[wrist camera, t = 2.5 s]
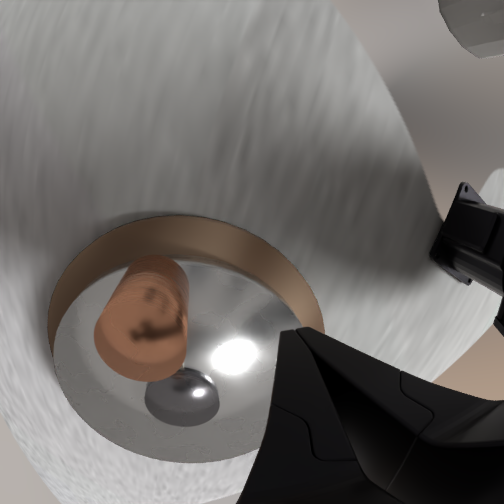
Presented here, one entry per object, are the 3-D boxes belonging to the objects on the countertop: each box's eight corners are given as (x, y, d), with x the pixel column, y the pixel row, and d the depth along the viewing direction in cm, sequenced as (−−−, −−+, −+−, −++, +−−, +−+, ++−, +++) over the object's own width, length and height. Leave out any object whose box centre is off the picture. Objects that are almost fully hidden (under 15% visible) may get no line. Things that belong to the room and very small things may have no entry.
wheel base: (366, 285, 19) (376, 292, 17) (248, 453, 22) (250, 463, 21) (92, 164, 14) (84, 165, 13) (46, 393, 17) (41, 402, 16)
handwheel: (300, 425, 20) (327, 492, 14) (111, 442, 18) (100, 509, 12) (305, 225, 15) (372, 271, 9) (33, 257, 13) (-37, 312, 7)
